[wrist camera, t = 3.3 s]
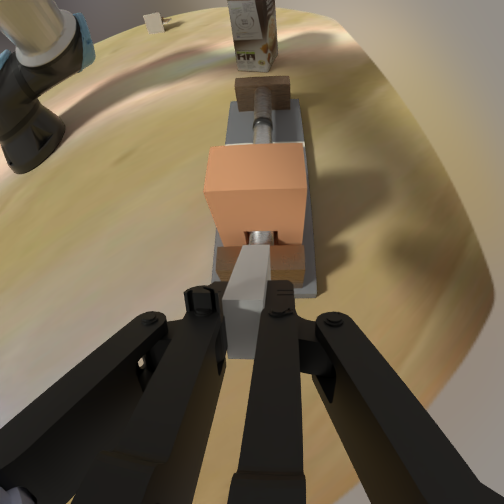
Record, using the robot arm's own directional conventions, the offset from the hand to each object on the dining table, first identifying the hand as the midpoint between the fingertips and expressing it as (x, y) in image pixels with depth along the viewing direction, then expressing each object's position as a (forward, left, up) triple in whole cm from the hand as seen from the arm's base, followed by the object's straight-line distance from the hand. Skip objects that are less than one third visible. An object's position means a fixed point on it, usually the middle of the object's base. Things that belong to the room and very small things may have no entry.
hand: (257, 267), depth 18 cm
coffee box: (-49, +16, -16) cm, 54 cm away
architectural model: (-86, -2, -17) cm, 88 cm away
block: (-10, +3, -14) cm, 17 cm away
